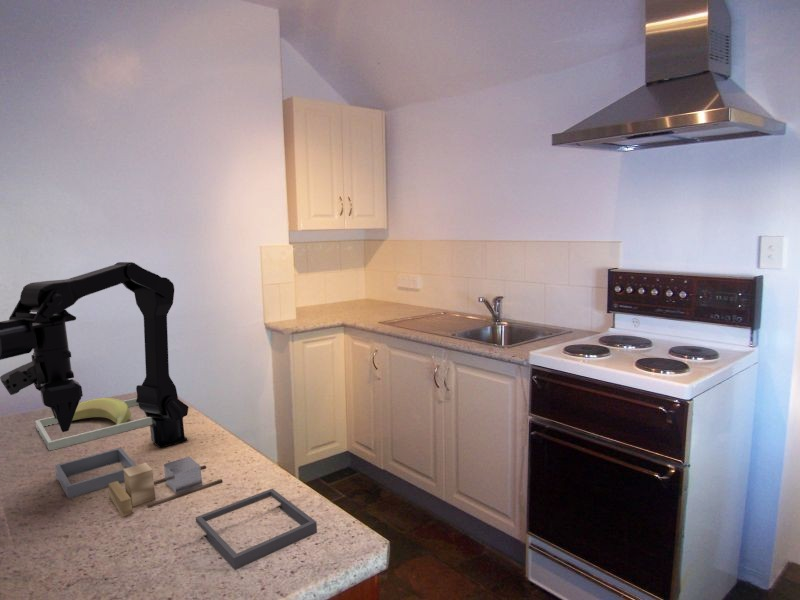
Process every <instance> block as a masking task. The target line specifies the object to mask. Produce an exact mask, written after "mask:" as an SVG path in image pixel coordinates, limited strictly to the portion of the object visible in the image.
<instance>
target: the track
mask: <svg viewBox="0 0 800 600" xmlns="http://www.w3.org/2000/svg"><path fill="white" fill-rule="evenodd" d="M200 466H201V465H200ZM205 469H207V466H206V464H205V465H202V466H201V471H202V470H205ZM164 482H165V483H166V480H165V477H163V478H160V479H158V480H154V486H155V485H158V484H161V483H164ZM221 483H224V482H223V479H217V480H214V481H212V482H209V483H205V484H202V485H201V486H199V487H196V488H193V489H190V490H187V491H184V492H181V493H178V494H176V493H175V494H174V495H171V496H170V495H169V496H168V497H164V498H162V499H158V500H156V501H153V502H151V503H150V502H149V503H147V504H146V506H147V508H148V509H150V508H152V507H155V506H157V505H161V504H164V503H166V502H170V501H172V500H175V499H177V498H178V499H179V498H182V497H184V496H186V495H190V494H192V493H196V492H198V491H201V490H205V489H207V488H211V487H212V486H216V485H219V484H221ZM108 493H109V498H110V500H111V502H112V503H113V504H114V506H115V508H116V509H117V510H118V512H119V513H120V515H121V516H122V517H125V516H129V515H132V514H133V506H132V504H131V498H130V497H129V495H128V494H127V493H126V489H124V487H123V486H122V485H121V484H120V483H119V482H118V481H115V482H112V483H109V484H108Z"/></svg>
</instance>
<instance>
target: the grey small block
mask: <svg viewBox="0 0 800 600" xmlns="http://www.w3.org/2000/svg"><path fill="white" fill-rule="evenodd" d="M163 468H164V478H165V480H166V481H165V484H166V485H167V486H168V487H169V488H170V489H171V490H172V491H173V493H174V494H175V495H176V494H179V493H182V492H185V491H188V490H191V489H193V488H196V487H199V486H202V485H203V480H202V470H201V465H200V464H198V462H196V461H195V460H194V459H193V458H192V457H191V456H186V457H183V458H180V459H179V458H178V459H176V460H172V461H169V462H166V463H164V464H163Z"/></svg>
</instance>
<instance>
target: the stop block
mask: <svg viewBox="0 0 800 600" xmlns="http://www.w3.org/2000/svg"><path fill="white" fill-rule="evenodd" d="M125 468H126V467H125ZM122 469H123V471H124V479H125V481H124V488H125V491H126V493H127V494H128V495H129V497H130V498H131V504H132V507H135V506H139V505H141V504H145V503H147V502H150V501H153V500H156V491H155V490H156V489H155V485H154V481H155V480H154V471H153V468H152V467H151V466H150V465H149V464H148V463H147V462H143V463H139V464H136V466H133V467H129V468H126V469H124V468H122Z"/></svg>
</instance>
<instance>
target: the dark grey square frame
mask: <svg viewBox="0 0 800 600" xmlns="http://www.w3.org/2000/svg"><path fill="white" fill-rule="evenodd" d="M269 497H272V498H273V499H274V500H276V501H277V502H278V503H279V504H280V505H277V507H278V508H279V510H281V511H282V512H284V513H285V514H286V515H287V516H289V517H290V518H292V519H293V520H294V521H295V522H297V523H298V524H299V526H297V527H295V528H293V529H289V530H288V531H286V532H283V533H281V534H279V535H276V536H274V537H271V538H269V539H267V540H264V541H263V542H260V543H258V544H255V545H253V546H251V547H249V548H247V549H245V550H242V551H239V552H236V551H235V550H234V549H233V548H232V547H231V546H230V545H229V544H228V543H227V542H226V541H225V540H224V538H223V537H222V536H221V535H220V534H218V532H217V531H216V530H215V529H214V528H213V527H212V526H211V525H210V524H209V522H207V521H208V520H211V519H214V518H216V517H219V516H222V515H224V514H226V513H230V512H232V511H234V510H237V509H240V508H243V507H245V506H247V505H250V504H253V503H255V502H258V501H261V500H263V499H266V498H269ZM195 522H196V523H197V524H198V526H199V527H200V528H201V529H202V530H203V531H204V533H206V534H205V535H203V537H204V538H205V539H206V540H207V541H208V542H209V543H210V545H211V546H212V547H213V548H214V549H215V550H216V552H217V553H219V555H220V556H221V557H223V558H224V560H225V561H226V562H227V563H228V564H229V565H230V567H231V568H232V569H233V570H234V571H236V570H238V569H241V568H243V567H245V566H248V565H249V564H252V563H254V562H256V561H259V560H260V559H263V558H265V557H267V556H269V555H272V554H273V553H277V552H278V551H280V550H282V549H285V548H286V547H289V546H291V545H293V544H296V543H298V542H300V541H302V540H305V539H306V538H308V537H310V536H313V535H315V534H318V528H317V527H318V524H317V521H316V520H315V519H314V518H312V517H311V516H309V515H308V514H307V513H305V512H304V510H302V509H300V508H299V507H298V506H296V505H295V504H294V503H292V502H291V501H290V500H288V499H287V498H285V497H284V496H283V495H282V494H280V493H279V492H278V491H276V490H275V489H273V488H270V489H267V490H265V491H262V492H260V493H259V492H258V493H256V494H254V495H251V496H249V497H245V498H244V499H241V500H238V501H236V502H235V501H234V502H233V503H230V504H226V505H224V506H221V507H219V508H216V509H214V510H212V511H209V512H206V513H203V514H201V515H197V516H195Z"/></svg>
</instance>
